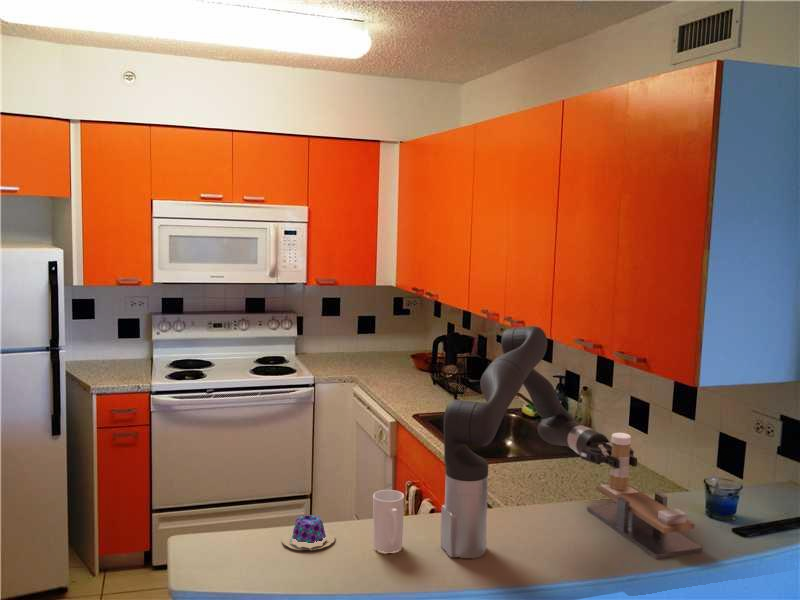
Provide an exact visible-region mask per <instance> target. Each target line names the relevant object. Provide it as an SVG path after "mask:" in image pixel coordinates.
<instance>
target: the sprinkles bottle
mask: <svg viewBox="0 0 800 600" xmlns="http://www.w3.org/2000/svg"><path fill="white" fill-rule="evenodd" d="M610 439H611V441H610V442H611V444H612V454H611V456H613V457H615V458H617V459H618V460H619V461H620V466H619V468H618V469H616V468H614V467H612V466H610V467H609V469H610V470H609V486H610V487H611V488H613V489H615V490H626V489H627V488H628V485H629V484H628V483H629V482H628V481H629V474H630V473H629V471H630V465H629V458H630V455H629V453H630V448H631V443H632V436H631V435H630V434H628V433H626V432H614V433H612V434H611V438H610Z"/></svg>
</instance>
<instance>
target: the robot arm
mask: <svg viewBox="0 0 800 600" xmlns="http://www.w3.org/2000/svg"><path fill="white" fill-rule="evenodd" d="M501 335H502V336H501V339H500V341H501V342H500V345H501V350H502V354H501V355H500V356H498V357H497V358H495V359H493V360H492V362H490V364H489V365H488V366H487V367H486V369H485V370H484V372H483V373H482V374H481V377H480V391H481V394H482V395H483V397H484V399H485V401H486V402H481V401H470V400H464V399H453V400H450V401H449V402H448V404H447V406H446V407H445V411H444V415H443V447H444V451H443V452H444V464H445V465H444V466H445V480H444V481H445V485H444V486H445V489H444V504H442V505H441V511H440V512H441V513H440V514H441V515H440V516H441V517H440V519H441V520H440V547H441V546H442V547H441V548H442V550H443V549H444V550H445V551H446V552H445V551H444V550H443V551H444V552H445V553H446V555H449V556H450V557H461V558H460V559H462V558H472V559H476V558H475V557H477V558H480V557H482V556H483V555H485V554H486V551H487V527H488V526H487V524H488V523H487V522H488V521H487V519H488V493H489V492H488V490H489V488H488V486H489V485H488V484H489V463H488V461H487V460H486V459H484V458H483V457H482V456H480V455H478V454H477V453H475V452H473V451H472V449H470V448H469V447H468V445H469V446H475V447H486V446H488V445H489V444H491V442H492V441H493V440H494V438H495V437H496V434H497V432H498V431H499V428H500V426H501V423H502V421H503V419H504V416H505V414H506V413H507V410H508V408H509V407H510V405H511V404H512V402H513V400H514V399H515V397H516V396H517V394H518V393H519V391H520V390H521V388H522V386H524V388H525V390H526V391H527V393H528V396H529V397H530V400H531V402H532V404H533V407H534V409H535V411H536V414H537V416H540V417H541V418H543V420H541V421H540V422H539V423H538V426H537V432H538V435H539V436H540V438H541V439H542V440H543V441H545V442H546V443H548V444H550V445H553V446H560V447H563V446H564V447H568V448H569V449H571V450H573V451H574V452H575V453H576V454H578V455H579V456H580V460H583V461H587V462H589V463H592V464H595V465H598V466H599V465H601V464H603V465H606V466H607V465H608V466H610V467H611V466H612V467H614V468H616V469H618V468H619V466H620V461H619V460H618V459H617V458H615V457H613V456H611V454H612V442H611V441H609V439H608V437H607V436H606V435H605V434H603V433H601V432H599V431H596V430H594V429H593V428H590V427H588V426H584V425H582V424H581V423H578V422H576V421H575V420H574V417H573V416H572V414H570V412H568V410H566V408H565V407H564V406H563V405H562V403H561V401H560V399H559V397H558V393H557V392H556V389H555V387H554V385H553V384H552V383H551V382H550V380H549V379H547V378H546V377H545V376H544V375H543V374H541V373H540V372H538V371H537V370H536V369H535V368H536V366H537V365H538V364H539V363H540V362H541V361H542V360H543V358H544V357H545V355H546V353H547V349H548V348H547V347H548V338H547V335H546V333H545V331H544V329H542V328H541V327H539V326H534V325H528V326H520V327H512V328H507V329H506V330H504V331H503V333H502V334H501ZM634 453H635V451H634V450H633V448H631V447H630V453H629V455H630V458H629V466H632V467H635V468H637V466H638V458H637V457H635V455H634ZM449 556H448V557H449ZM450 557H449V558H450Z"/></svg>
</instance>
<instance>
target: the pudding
mask: <svg viewBox="0 0 800 600" xmlns="http://www.w3.org/2000/svg"><path fill="white" fill-rule="evenodd" d="M324 529H325V526H324V523H323V521H322V519H321V518H320V517H319V516H318V515H314V514H309V515H302V516H300V517H298V518H296V520H295V522H294V528H293V530H292V531H293V535H292V538H293V539H296V540H297V541H298V542H307V543H314V542H315V541H316V542H317V541H322V540H323V538H325V537H326V534H325V530H324Z"/></svg>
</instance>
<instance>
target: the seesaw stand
mask: <svg viewBox="0 0 800 600" xmlns="http://www.w3.org/2000/svg"><path fill="white" fill-rule="evenodd" d="M654 500H655V501H658V502H659V503H660V504H662V505H664V506H665V507H667V508H668V496H666V495H665V494H663V493H661V492H654ZM629 503H630V502H629V501H628V500H626V499H624V498H623V497H617V503H616V502H615V503H606V504H600V505H599V504H598V505H591V506H586V511H587V512H588V513H589V514H590V515H592V516H594V517H595V518H597V519H598V520H600V521H601V522H603V523H604V524H605V525H606V526H608V527H609V528H611V529H612V530H614V531H615V532H616V533H619V534H620V535H621V536H622V537H623V538H626V539H627V540H628V541H629V542H631V543H632V544H634V545H635V546H637V547H638V548H639V549H641V550H643V551H644V552H646V553H647V554H648V555H650V556H651V557H652V558H654V559H655V560H658V559H660V560H661V559H665V558H671V557H672V558H673V557H679V556H684V555H685V556H686V555H690V554H697V553H702V552H703V547H702V546H700V545H699V544H697V543H696V542H694V541H693V540H691V539H689V538H687V537H686V536H684V535H683V534H681V533H679V531H677V532H670V533H662V532H661V531H659V530H658V529H656V528H655V527H653V526H651V525H650V524H648V523H647V522H645V521H644V520H642V519H641V518H639V517H638V516H636V515H635V514H633V513H631V512H630V511H629Z"/></svg>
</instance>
